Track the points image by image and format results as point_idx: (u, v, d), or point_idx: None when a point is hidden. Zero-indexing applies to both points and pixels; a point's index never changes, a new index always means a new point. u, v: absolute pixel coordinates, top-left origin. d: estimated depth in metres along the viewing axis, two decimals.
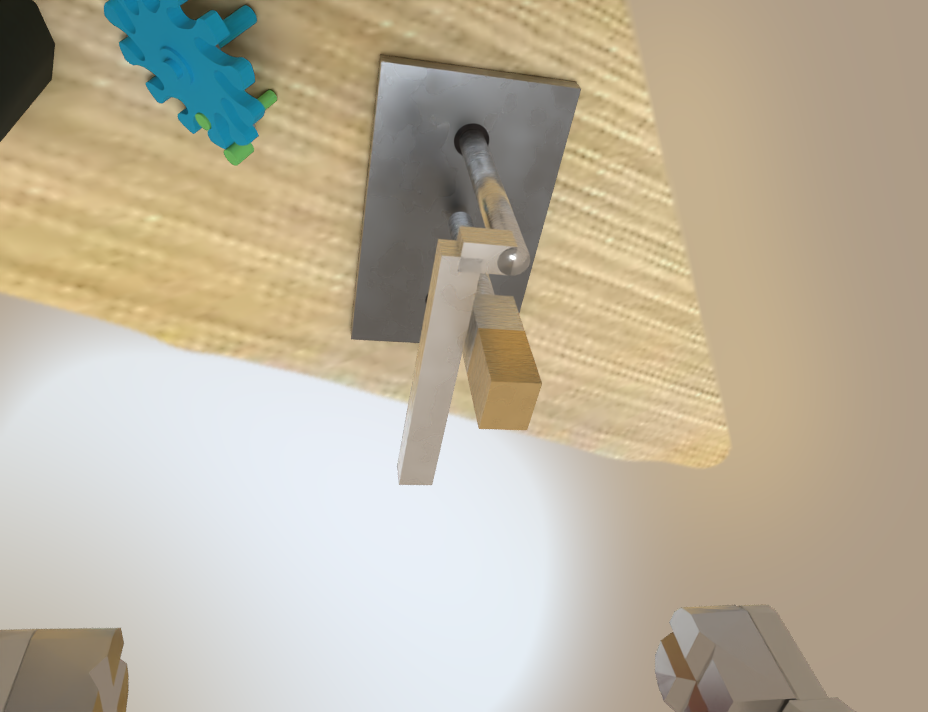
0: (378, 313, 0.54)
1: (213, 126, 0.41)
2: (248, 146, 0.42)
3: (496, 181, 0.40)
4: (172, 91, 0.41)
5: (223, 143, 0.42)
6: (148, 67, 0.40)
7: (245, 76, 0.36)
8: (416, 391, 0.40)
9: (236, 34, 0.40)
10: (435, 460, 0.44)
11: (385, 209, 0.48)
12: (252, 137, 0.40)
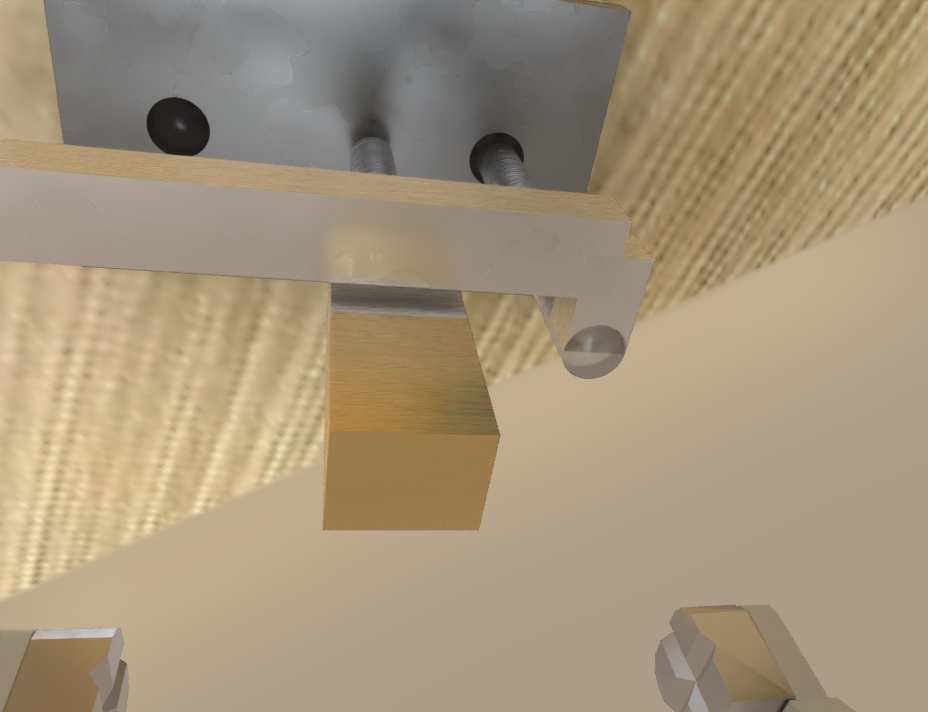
0: None
1: None
2: None
3: None
4: None
5: None
6: None
7: None
8: (230, 186, 0.15)
9: None
10: None
11: (373, 15, 0.26)
12: None
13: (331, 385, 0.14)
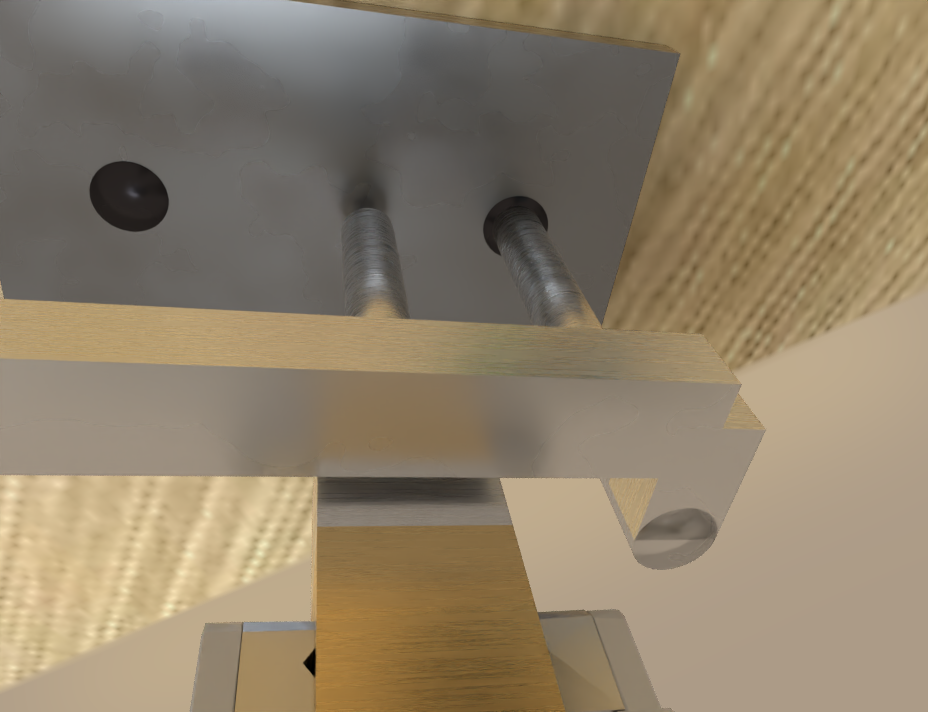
0: (51, 38, 0.20)
1: None
2: None
3: None
4: None
5: None
6: None
7: None
8: (164, 362, 0.10)
9: None
10: None
11: (368, 60, 0.21)
12: None
13: (318, 693, 0.09)
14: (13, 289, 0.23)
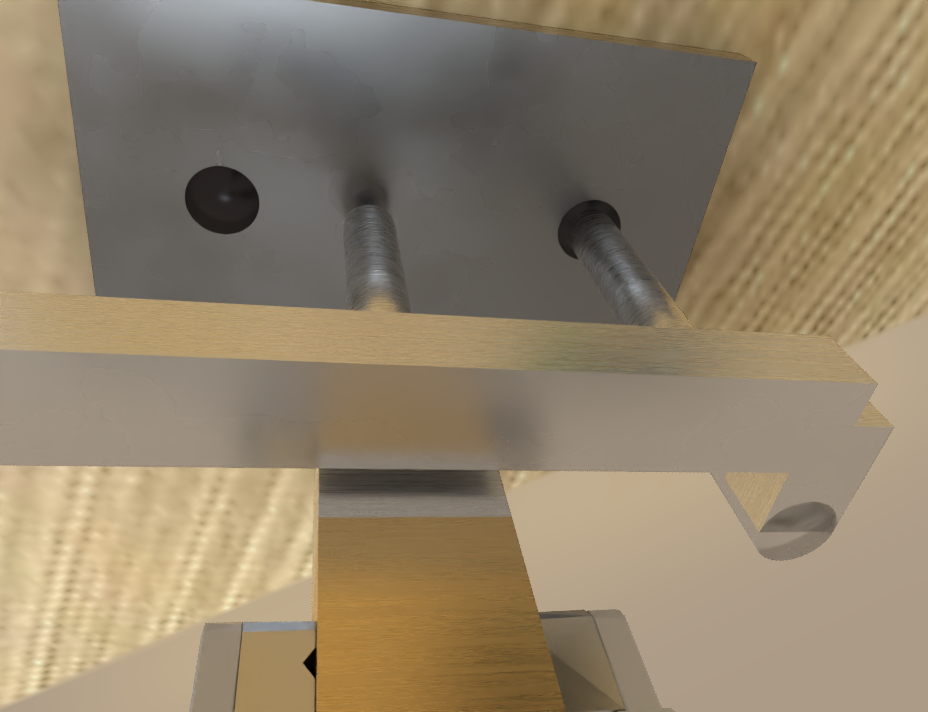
0: (159, 47, 0.21)
1: None
2: None
3: None
4: None
5: None
6: None
7: None
8: (358, 361, 0.11)
9: None
10: None
11: (458, 69, 0.22)
12: None
13: (319, 679, 0.09)
14: (105, 289, 0.24)
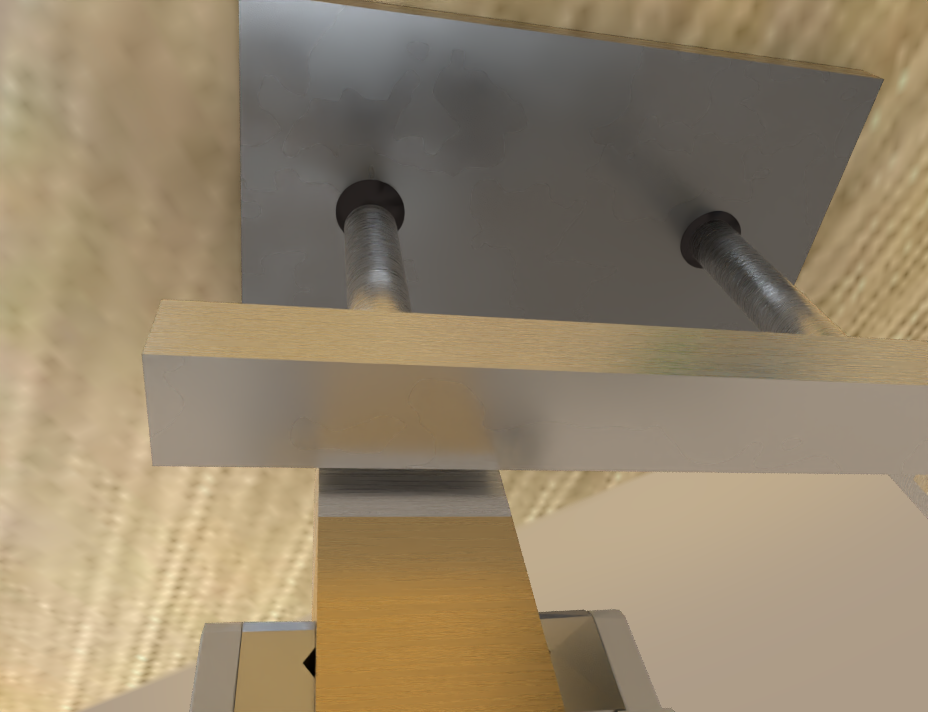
0: (327, 67, 0.21)
1: None
2: None
3: None
4: None
5: None
6: None
7: None
8: (648, 372, 0.12)
9: None
10: (300, 461, 0.12)
11: (603, 86, 0.23)
12: None
13: (318, 679, 0.09)
14: (251, 297, 0.25)
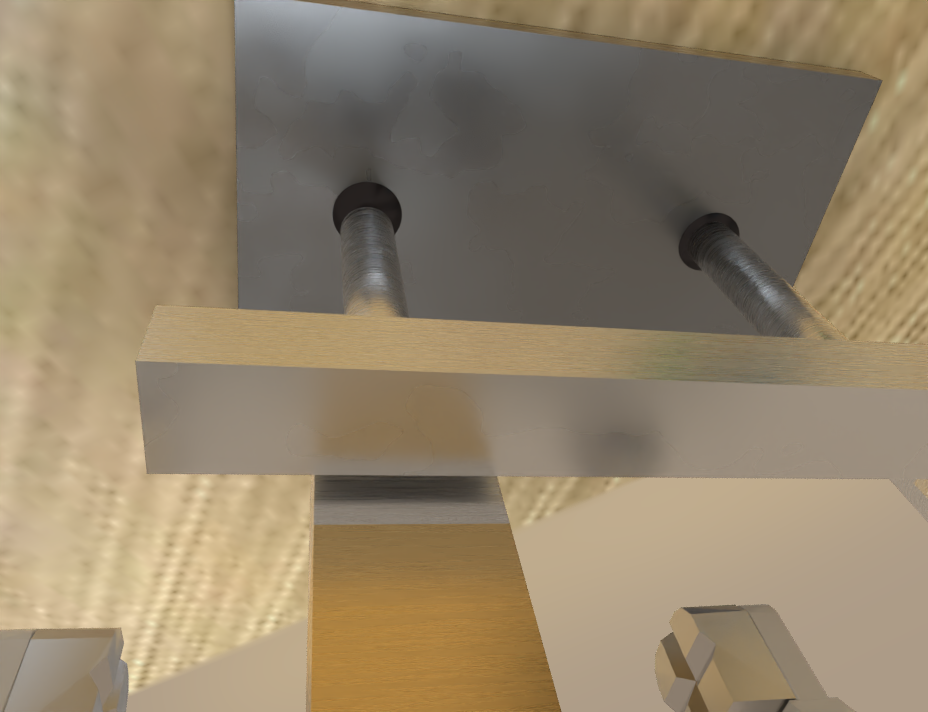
0: (324, 69, 0.21)
1: None
2: None
3: None
4: None
5: None
6: None
7: None
8: (648, 378, 0.12)
9: None
10: (296, 468, 0.11)
11: (601, 88, 0.23)
12: None
13: (313, 691, 0.09)
14: (248, 300, 0.25)
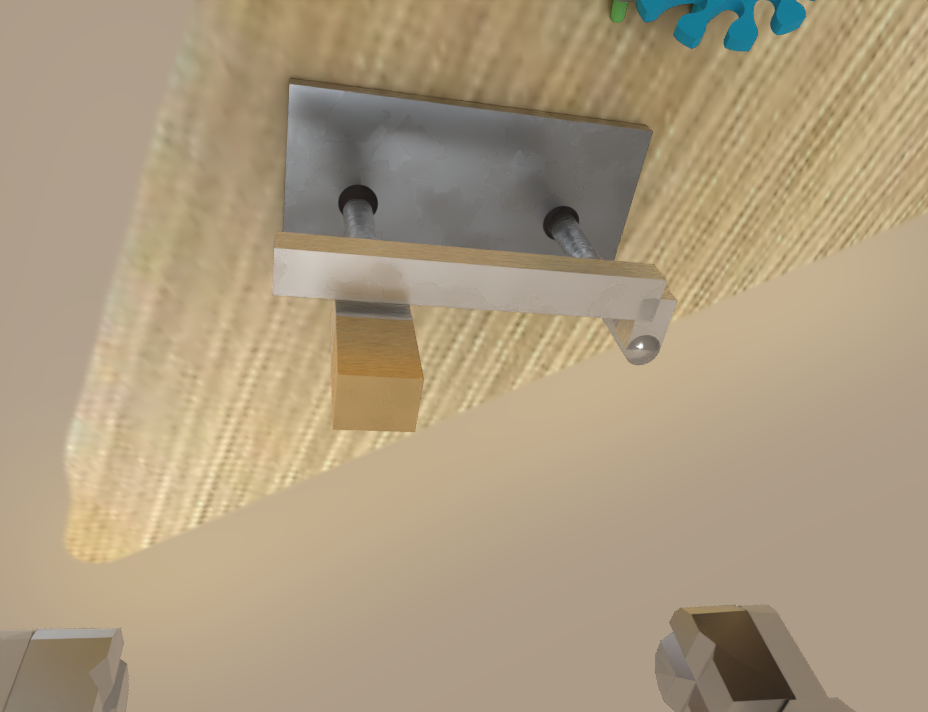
0: (335, 123, 0.39)
1: None
2: None
3: None
4: None
5: None
6: None
7: (743, 44, 0.34)
8: (467, 263, 0.30)
9: None
10: (329, 296, 0.29)
11: (490, 134, 0.41)
12: (649, 16, 0.35)
13: (338, 353, 0.27)
14: None
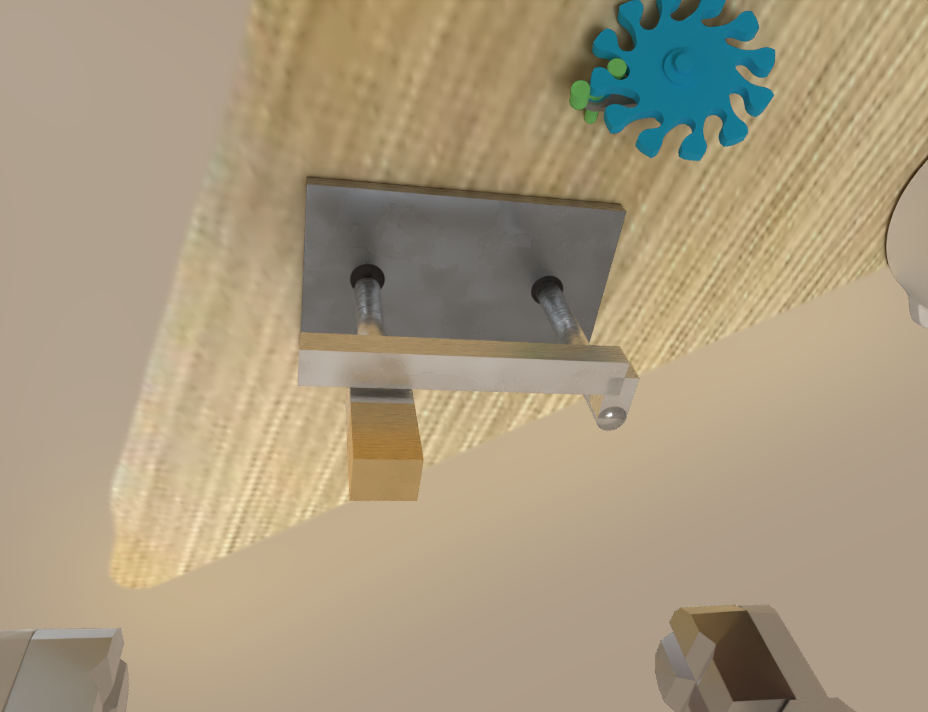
0: (347, 214, 0.45)
1: (616, 81, 0.41)
2: (583, 106, 0.42)
3: None
4: (643, 40, 0.41)
5: (598, 86, 0.41)
6: (664, 18, 0.41)
7: (694, 156, 0.40)
8: (459, 355, 0.35)
9: None
10: (344, 384, 0.35)
11: (482, 219, 0.47)
12: (615, 130, 0.41)
13: (352, 439, 0.33)
14: (306, 322, 0.49)
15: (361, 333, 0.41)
